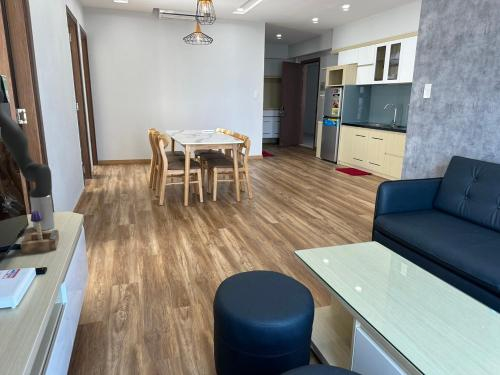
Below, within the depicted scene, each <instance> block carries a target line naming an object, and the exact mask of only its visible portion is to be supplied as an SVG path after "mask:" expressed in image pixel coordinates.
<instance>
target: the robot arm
mask: <svg viewBox="0 0 500 375" xmlns="http://www.w3.org/2000/svg"><path fill="white" fill-rule="evenodd" d="M4 98H5V94H4V91H3V90H2V88H1V87H0V127H1V137H2V140H3V141H2V140H1V141H2V142H3V144H4V146H5V147H6V148H7V150H8V151H9V153H10V154H11V156H12V159H14V161H15V163H16V164H17V167H18V168H19V171H20V173H21V174H22V176H23V177H24V179H25V180H26V181H28V182H30V183H31V182H32V183H35V188H31V189H30V190H29V199H30V208H31V209H30V212H31V213H32V212H33V211H40V213H41V215H42V217H43V220H41V221H40V227H41V231H49V230H51V229H54V228H55V218H54V217H55V216H54V207H53V200H52V189H53V183H52V182H53V180H52V171H51V168H50V167H49V166H48V165H47V164H43V163H35V162H34V160H33V159H32V157H31V156H30V153H29V140H28V138H27V136H26V134H25V132H24V131H23V129H22V127H21V125H19V124H18V123H17V122H16V120H14V119H13V118H12V117H11V115H9V114H8V113H7V112H6V111H5V110H4V108H3V107H2V103H3V101H4ZM6 196H7V195H6ZM4 200H5V204H4V203H2V206H4V207H5V208H4V209H3V211H2V212H3V213H10V214H11V215H12V216H14V217H15V218H16V217H18V216H19V215H20V212H21V211H23V210H24V209H25V206H24V205H23V204H21V203H20V202H18V200H17V198H16V197H15V196H14V195H12V194H11V193H9V196H7V199H6V197H5V199H4ZM16 209H17V210H16ZM18 210H19V211H18ZM32 227H33V229H34V230H35V231H37V229H36V223H35V222H32Z"/></svg>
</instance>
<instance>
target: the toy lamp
mask: <svg viewBox="0 0 500 375" xmlns="http://www.w3.org/2000/svg"><path fill="white" fill-rule="evenodd" d="M41 220H43V217H42V215H41V213H40V211H33V212H31V216H30V222H32V223H33V222H35V223H36V229H37V230H36V232H37V236H38V239H39V240H43V239H42V233H41V232H42V230H41V227H40V221H41Z"/></svg>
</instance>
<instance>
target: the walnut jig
mask: <svg viewBox="0 0 500 375" xmlns="http://www.w3.org/2000/svg"><path fill="white" fill-rule="evenodd" d="M41 233H42V239H43V240H39V239H38V236H37V231H36V232H29V233H28V232H27V233H25V235H24V237H23V239H22V241H21V243H20V252H21V254H22V255H26V254H34V253H35V254H36V253H43V252H50V251H56V250H57V248H58V245H59V242H60V235H59V230H58V229H53V230H45V231H41Z"/></svg>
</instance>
